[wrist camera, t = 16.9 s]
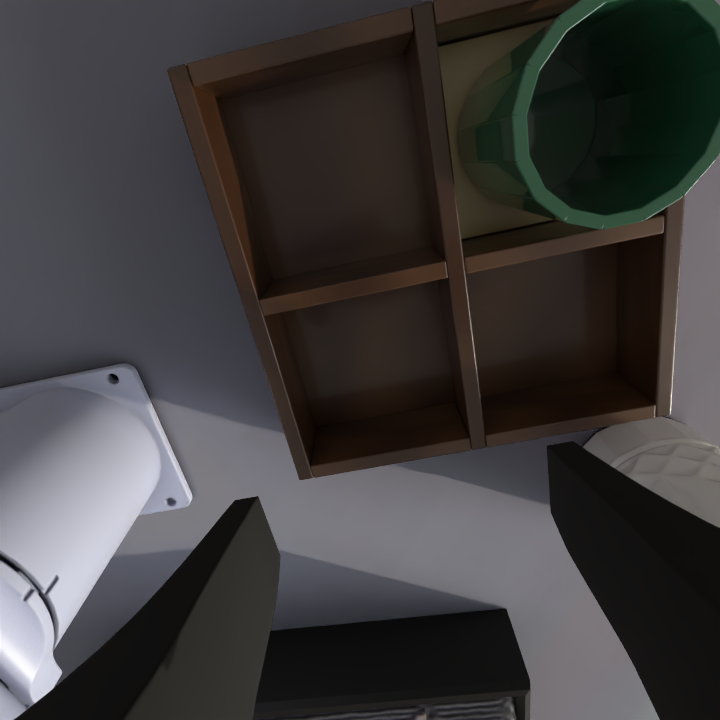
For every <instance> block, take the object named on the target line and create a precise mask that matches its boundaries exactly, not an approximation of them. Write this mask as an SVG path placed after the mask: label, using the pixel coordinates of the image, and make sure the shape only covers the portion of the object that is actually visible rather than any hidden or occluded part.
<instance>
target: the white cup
mask: <svg viewBox="0 0 720 720" xmlns="http://www.w3.org/2000/svg"><path fill="white" fill-rule="evenodd" d="M583 448H584V449H586V450H587V451H589V452H590V453H592V454H593V455H595V456H596V457H598V458H600V459H601V460H603V461H604V462H606V463H607V464H609V465H610V466H612V467H613V468H615V469H617V470H618V471H620V472H621V473H623V474H624V475H626V476H628V477H629V478H631V479H632V480H634V481H636V482H637V483H639V484H641V485H642V486H644V487H646V488H647V489H649V490H651V491H652V492H654V493H656V494H657V495H659V496H661V497H663V498H664V499H666V500H668V501H670V502H671V503H673V504H675V505H677V506H679V507H681V508H683V509H684V510H686V511H688V512H690V513H692V514H694V515H695V516H697V517H699V518H701V519H703V520H705V521H707V522H709V523H711V524H713V525H715V526H717V527H719V528H720V448H719V447H717V446H716V445H715V444H713V443H712V442H711V441H709V440H708V439H706V438H705V437H704V436H702V435H701V434H700V433H698V432H697V431H695V430H694V429H693V428H691V427H690V426H688V425H686V424H683V423H680V422H677V421H674V420H671V419H668V418H665V417H662V416H661V417H655V418H651V419H646V420H640V421H634V422H629V423H623V424H617V425H612V426H610V427H608V428H605V429H603V430H601V431H599V432H597V433H596V434H595V435H594V436H593V437H592V438H591V439H590V440H589V441H588V442H587V443H586V444H585V445H584V446H583Z"/></svg>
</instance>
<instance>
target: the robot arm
mask: <svg viewBox="0 0 720 720" xmlns="http://www.w3.org/2000/svg"><path fill="white" fill-rule="evenodd" d="M111 374H115V375H116V376H117V377H118V379H119V380H115V379H113V378H112V376H111ZM547 457H548V474H549V491H550V507H551V514H552V516H553V518H554V521H555V523H556V525H557V528H558V530H559V532H560V535H561V537H562V539H563V541H564V544H565V546H566V548H567V550H568V552H569V554H570V556H571V557H572V559H573V561H574V563H575V564H576V566H577V568H578V569H579V571H580V573H581V575H582V576H583V578H584V580H585V581H586V583H587V585H588V587H589V588H590V590H591V592H592V593H593V595H594V597H595V598H596V600H597V602H598V603H599V605H600V607H601V609H602V610H603V612H604V614H605V615H606V617H607V619H608V620H609V622H610V624H611V625H612V627H613V629H614V631H615V632H616V634H617V636H618V637H619V639H620V641H621V642H622V644H623V646H624V648H625V650H626V652H627V653H628V655H629V657H630V659H631V661H632V663H633V665H634V666H635V668H636V671H637V673H638V675H639V677H640V679H641V681H642V683H643V685H644V687H645V689H646V691H647V694H648V696H649V698H650V700H651V702H652V704H653V706H654V708H655V710H656V712H657V714H658V717H659V719H660V720H720V528H719V527H717V526H715V525H713V524H711V523H709V522H707V521H705V520H703V519H701V518H699V517H697V516H695V515H694V514H692V513H690V512H688V511H686V510H684V509H683V508H681V507H679V506H677V505H675V504H673V503H671V502H670V501H668V500H666V499H664V498H663V497H661V496H659V495H657V494H656V493H654V492H652V491H651V490H649V489H647V488H646V487H644V486H642V485H641V484H639V483H637V482H636V481H634V480H632V479H631V478H629V477H628V476H626V475H624V474H623V473H621V472H620V471H618V470H617V469H615V468H613V467H612V466H610V465H609V464H607V463H606V462H604V461H603V460H601V459H600V458H598V457H596V456H595V455H593V454H592V453H590V452H589V451H587V450H586V449H584V448H583V447H581V446H580V445H578V444H576V443H575V442H573V441H571V442H566V443H560V444H554V445H549V446H547ZM169 498H173V499H174V500H175V501H172V500H170V499H169ZM191 500H192V493H191V491H190V489H189V486H188V484H187V482H186V480H185V477H184V475H183V473H182V471H181V468H180V466H179V464H178V462H177V460H176V457H175V455H174V453H173V451H172V448H171V446H170V444H169V442H168V439H167V437H166V435H165V433H164V430H163V428H162V426H161V424H160V421H159V419H158V417H157V415H156V412H155V410H154V408H153V406H152V403H151V401H150V399H149V397H148V394H147V392H146V390H145V388H144V385H143V383H142V381H141V379H140V376H139V374H138V372H137V370H136V369H135V367H133V366H132V365H130V364H127V363H122V364H117V365H112V366H107V367H102V368H98V369H93V370H88V371H83V372H78V373H73V374H68V375H63V376H58V377H53V378H48V379H43V380H39V381H34V382H29V383H24V384H19V385H14V386H9V387H4V388H0V720H252V719H253V713H254V707H255V702H256V696H257V691H258V686H259V681H260V677H261V672H262V667H263V662H264V658H265V653H266V648H267V644H268V639H269V634H270V629H271V625H272V620H273V615H274V610H275V605H276V600H277V593H278V582H279V570H280V553H279V551H278V548H277V545H276V543H275V540H274V537H273V535H272V532H271V529H270V527H269V524H268V521H267V519H266V516H265V513H264V511H263V508H262V505H261V503H260V500H259V497H258V496H257V497H251V498H245V499H240V500H235V501H234V502H233V503H232V504H231V505H230V507H229V508H228V509H227V510H226V511H225V513H224V514H223V515H222V516H221V517H220V519H219V520H218V521H217V522H216V524H215V525H214V526H213V527H212V528H211V530H210V531H209V532H208V533H207V535H206V536H205V537H204V538H203V539H202V541H201V542H200V543H199V544H198V545H197V547H196V548H195V549H194V550H193V551H192V553H191V554H190V555H189V556H188V557H187V559H186V560H185V561H184V562H183V563H182V565H181V566H180V567H179V568H178V569H177V570H176V571H175V572H174V574H173V575H172V576H171V577H170V578H169V579H168V580H167V581H166V582H165V583H164V585H163V586H162V587H161V588H160V589H159V590H158V591H157V592H156V593H155V595H154V596H153V597H152V598H151V599H150V600H149V601H148V602H147V603H146V604H145V605H144V606H143V607H142V608H141V609H140V611H139V612H138V613H137V614H136V615H135V616H134V617H133V618H132V619H131V620H130V621H129V622H127V623H126V624H125V625H124V626H123V627H122V628H121V629H120V630H119V631H118V632H117V633H116V634H115V635H114V636H113V637H112V638H111V639H110V640H109V641H108V642H107V643H105V644H104V645H103V646H102V647H101V648H100V649H99V650H98V651H97V652H95V653H94V654H93V655H92V656H91V657H90V658H88V659H87V660H86V661H85V662H84V663H83V664H81V665H80V666H79V667H78V668H77V669H76V670H75V671H73V672H72V673H71V674H70V675H69V676H68V677H66V678H65V679H64V680H63V681H62V682H61V683H59V684H58V685H57V686H56V687H55V688H54V686H55V685H56V683H57V681H58V679H59V678H60V676H61V674H62V670H61V669H60V667H59V666H58V665H57V664H56V662H55V660H54V657H53V651H54V649H55V647H56V646H57V644H58V643H59V641H60V639H61V638H62V636H63V635H64V633H65V631H66V630H67V628H68V627H69V625H70V623H71V622H72V620H73V619H74V617H75V615H76V614H77V612H78V611H79V609H80V607H81V606H82V604H83V603H84V601H85V599H86V598H87V596H88V595H89V593H90V591H91V590H92V588H93V587H94V585H95V583H96V582H97V580H98V579H99V577H100V575H101V574H102V572H103V571H104V569H105V567H106V566H107V564H108V563H109V561H110V559H111V558H112V556H113V555H114V553H115V551H116V550H117V548H118V547H119V545H120V543H121V542H122V540H123V539H124V537H125V535H126V534H127V532H128V531H129V529H130V527H131V526H132V524H133V523H134V521H135V519H136V518H137V516H138V515H144V514H149V513H155V512H161V511H167V510H172V509H178V508H184V507H187V506H188V505H189V504H190V502H191Z"/></svg>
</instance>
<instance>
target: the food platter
mask: <svg viewBox="0 0 720 720" xmlns="http://www.w3.org/2000/svg"><path fill="white" fill-rule="evenodd" d="M252 720H530V679H529V676H528V673H527V670H526V667H525V664H524V661H523V658H522V655H521V652H520V649H519V646H518V643H517V640H516V637H515V634H514V630H513V627H512V624H511V621H510V618H509V615H508V612H507V609H499V610H488V611H478V612H467V613H457V614H446V615H436V616H425V617H415V618H405V619H394V620H384V621H373V622H363V623H352V624H342V625H331V626H321V627H310V628H300V629H289V630H279V631H270V634H269V639H268V644H267V648H266V653H265V658H264V662H263V667H262V672H261V677H260V681H259V686H258V691H257V696H256V702H255V707H254V713H253V719H252Z"/></svg>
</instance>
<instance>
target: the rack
mask: <svg viewBox="0 0 720 720" xmlns="http://www.w3.org/2000/svg"><path fill="white" fill-rule="evenodd" d="M578 1H579V0H434V1H433V3H432V2H430V1H429V2H425V3H422V4H418V5H414V6H412V8H410V7H406V8H402V9H398V10H394V11H390V12H386V13H382V14H379V15H375V16H371V17H367V18H363V19H359V20H355V21H351V22H347V23H343V24H339V25H336V26H332V27H328V28H324V29H320V30H316V31H312V32H308V33H304V34H300V35H296V36H293V37H289V38H285V39H281V40H277V41H273V42H269V43H265V44H261V45H257V46H253V47H250V48H246V49H242V50H238V51H234V52H230V53H226V54H222V55H218V56H214V57H210V58H207V59H203V60H199V61H195V62H191V63H188V64H187V65H185V64H183V65H179V66H175V67H171V68H168V69H167V72H168V75H169V78H170V81H171V84H172V87H173V91H174V94H175V97H176V100H177V103H178V106H179V109H180V112H181V115H182V118H183V121H184V124H185V128H186V131H187V134H188V137H189V140H190V143H191V146H192V149H193V152H194V155H195V158H196V162H197V165H198V168H199V171H200V174H201V177H202V180H203V183H204V186H205V189H206V192H207V195H208V199H209V202H210V205H211V208H212V211H213V214H214V217H215V220H216V223H217V226H218V229H219V233H220V236H221V239H222V242H223V245H224V248H225V251H226V254H227V257H228V260H229V263H230V267H231V270H232V273H233V276H234V279H235V282H236V285H237V288H238V291H239V294H240V297H241V300H242V304H243V307H244V310H245V313H246V316H247V319H248V322H249V325H250V328H251V331H252V334H253V338H254V341H255V344H256V347H257V350H258V353H259V356H260V359H261V362H262V365H263V368H264V371H265V375H266V378H267V381H268V384H269V387H270V390H271V393H272V396H273V399H274V402H275V405H276V409H277V412H278V415H279V418H280V421H281V424H282V427H283V430H284V433H285V436H286V439H287V443H288V446H289V449H290V452H291V455H292V458H293V461H294V464H295V467H296V470H297V473H298V476H299V479H300V480H304V479H310V478H313V477H314V478H316V477H321V476H327V475H333V474H339V473H344V472H350V471H356V470H361V469H367V468H373V467H378V466H384V465H390V464H395V463H401V462H407V461H412V460H418V459H424V458H429V457H435V456H441V455H446V454H452V453H458V452H463V451H469V450H471V448H472V449H473V450H474V449H480V448H485V447H486V446H487V447H492V446H498V445H504V444H509V443H515V442H521V441H526V440H532V439H538V438H543V437H549V436H555V435H561V434H566V433H572V432H578V431H583V430H589V429H595V428H600V427H606V426H612V425H617V424H623V423H629V422H634V421H640V420H646V419H651V418H655V417H661V416H667V415H670V414H671V401H672V386H673V371H674V355H675V340H676V325H677V309H678V294H679V279H680V263H681V248H682V232H683V217H684V202H685V196H683V197H682V198H681V199H679V200H678V201H676V202H674V203H673V204H671V205H669V206H668V207H666V208H665V209H663V210H661V211H660V212H658V213H656V214H655V215H653V216H651V217H650V218H648V219H647V220H644V221H642V222H638V223H633V224H629V225H624V226H619V227H614V228H610V229H605V230H603V229H602V230H599V229H594V228H589V227H584V226H579V225H574V224H569V223H565V222H561V221H558V220H554V219H551V218H547V217H544V216H540V215H537V214H533V213H530V212H527V211H523V210H520V209H516V208H513V207H509V206H506V205H502V204H499V203H497V202H495V201H494V200H492V199H490V198H488V197H487V196H485V195H483V194H482V193H481V192H480V191H479V190H478V189H476V187H475V186H474V185H473V184H472V183H471V182H470V180H469V178H468V177H467V175H466V173H465V171H464V169H463V167H462V164H461V161H460V158H459V153H458V146H457V130H458V123H459V117H460V114H461V110H462V107H463V105H464V102H465V100H466V98H467V96H468V94H469V92H470V90H471V89H472V87H473V85H474V84H475V83H476V81H477V80H478V79H479V77H480V76H481V75H482V74H483V73H484V71H485V70H486V69H487V68H489V67H490V66H491V65H493V64H494V63H495V62H497V61H498V60H499V59H501V58H502V57H503V56H505V55H506V54H507V53H509V52H510V51H511V50H513V49H514V48H515V47H517V46H518V45H520V44H521V43H522V42H524V41H525V40H526V39H528V38H529V37H530V36H532V35H533V34H535V33H536V32H537V31H539V30H540V29H541V28H543V27H544V26H545V25H547V24H548V23H549V22H551V21H552V20H554V19H555V18H556V17H558V16H559V15H560V14H562V13H563V12H564V11H566V10H567V9H569V8H570V7H571V6H573V5H574V4H575V3H577V2H578Z"/></svg>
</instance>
